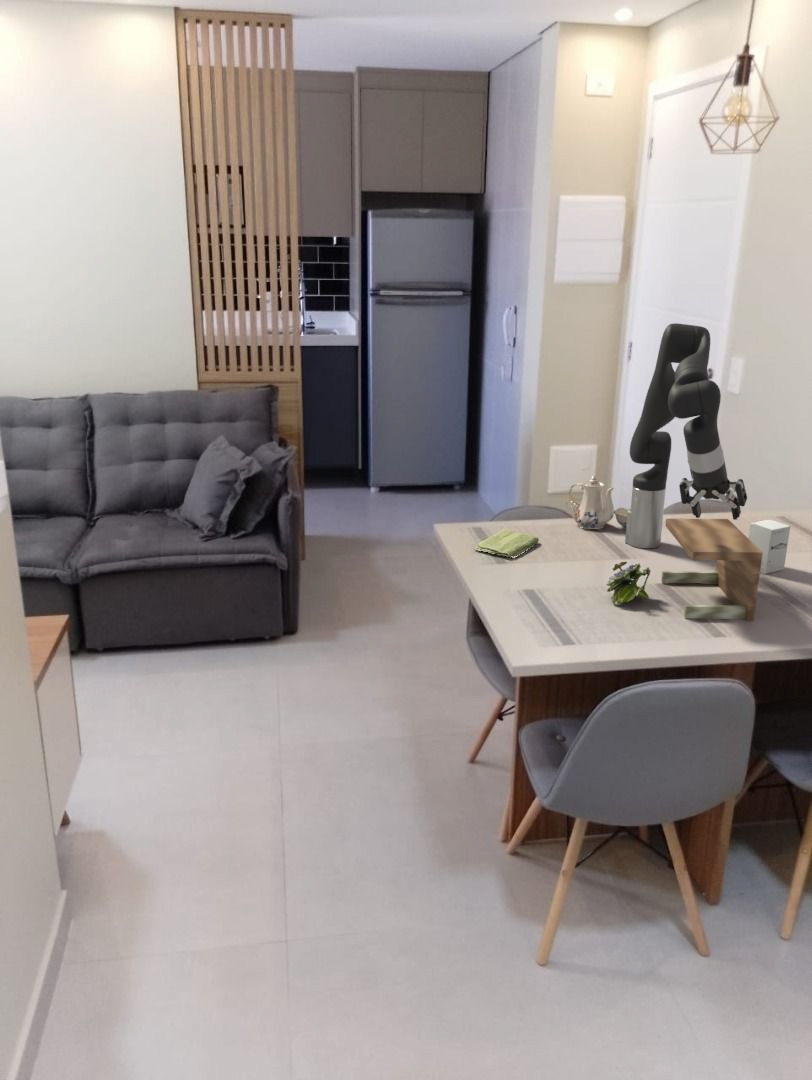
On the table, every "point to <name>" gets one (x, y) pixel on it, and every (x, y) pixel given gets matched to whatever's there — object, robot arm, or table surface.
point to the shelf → (718, 565)
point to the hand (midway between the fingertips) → (717, 516)
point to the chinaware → (595, 506)
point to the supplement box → (770, 543)
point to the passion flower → (627, 583)
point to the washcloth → (508, 543)
